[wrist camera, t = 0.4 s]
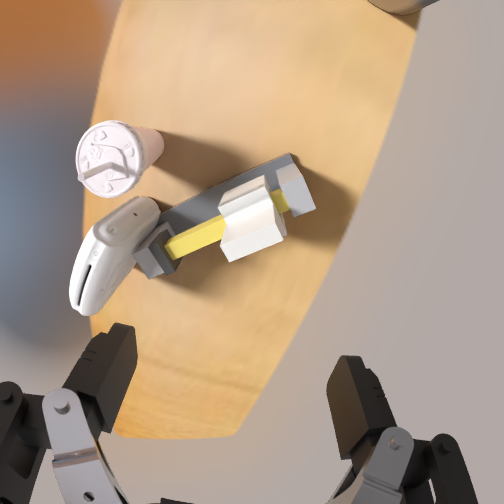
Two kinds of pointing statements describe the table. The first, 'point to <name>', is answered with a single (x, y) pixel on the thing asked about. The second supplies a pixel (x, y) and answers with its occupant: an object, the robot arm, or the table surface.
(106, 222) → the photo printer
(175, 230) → the slider rail
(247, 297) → the table surface
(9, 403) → the robot arm
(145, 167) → the smoothie
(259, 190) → the white stepped block
